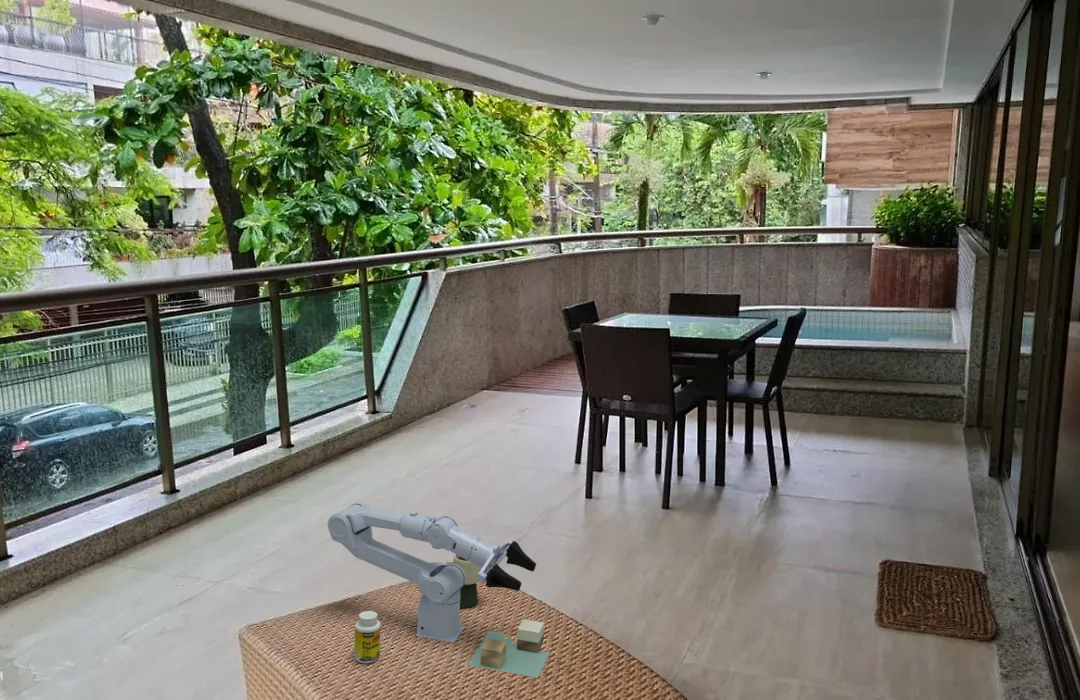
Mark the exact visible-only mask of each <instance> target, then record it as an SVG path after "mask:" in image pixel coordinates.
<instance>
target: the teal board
mask: <svg viewBox="0 0 1080 700" xmlns="http://www.w3.org/2000/svg"><path fill="white" fill-rule="evenodd" d="M504 636H506V637H504ZM505 638H509V639H505ZM487 639H492V640H498V641H503V642H507V643H506V659H505V661H504V663H503V664H502V666H501V668H500V669H498V668H493V667H487V666H482V665H480V661H481V648H482V646H483V645H484V643H485V641H486V640H487ZM512 642H516V641H512V640H511V638H510V637H508V636H507V633H504V632H503V633H502V632H498V631H497V632H495V631H491V630H488V632H487V633H486V634H485V637H484V638H483V639H482V641H481V643H480V644H479V645H478V647H477V649H476V651H475V652H474V653H473V655H472V656H471V659H470V660H469V661H468V663H467V666H471V667H476V668H482V669H487V670H492V671H498V672H504V673H509V674H513V675H519V676H525V677H529V678H536V679H538V678H539V677H540V675H541V672H542V670H543V668H544V667H545V664H546V662H547V659H548V658H549V656H550V653H551V651H550V652H542V651H539V652H538V653H534V652H528V651H523V650H517V642H516V643H512ZM513 644H514V645H513Z"/></svg>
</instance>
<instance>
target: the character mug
mask: <svg viewBox="0 0 1080 700" xmlns="http://www.w3.org/2000/svg"><path fill="white" fill-rule="evenodd" d="M453 554H454V555H453V560H452V559H451V560H446V561H445V564H456V565H458V566H460V567H461V568H462V569H463V571H464V573H465V577H466V580H465V584H464V585H463V587H461V588H460V608H471V607H473V606H476V605H477V603H479V599H478V597H479V596H478V595H479V594H478V585H477V583H478V582H479V581H477V580H476V579H477V575H478V573H479V571H480V570H481V569H482V568H481V567H479V566H477V565H475V564H474V563H472V562H470V561H468V560H466V559H464V558H462V557H460V556H458V555H457V554H455V553H453Z"/></svg>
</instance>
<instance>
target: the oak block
mask: <svg viewBox="0 0 1080 700" xmlns="http://www.w3.org/2000/svg"><path fill="white" fill-rule="evenodd" d="M506 643H507V642H503V641H498V640H492V639H487V640H486V641H485V643H484V645H483V646H482V648H481V661H480V665H482V666H487V667H493V668H498V669H500V668H501V666H502V664H503V663H504V661H505V659H506Z"/></svg>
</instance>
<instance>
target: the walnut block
mask: <svg viewBox="0 0 1080 700" xmlns="http://www.w3.org/2000/svg"><path fill="white" fill-rule="evenodd" d="M544 633H545V632H544ZM544 633H543V635H542V637H541V639H540V641H539V643H536V642H530V641H524V640H519V639H517V650H523V651H528V652H534V653H538V652H539V650H540V648H541V646H542V643H543V641H544Z"/></svg>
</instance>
